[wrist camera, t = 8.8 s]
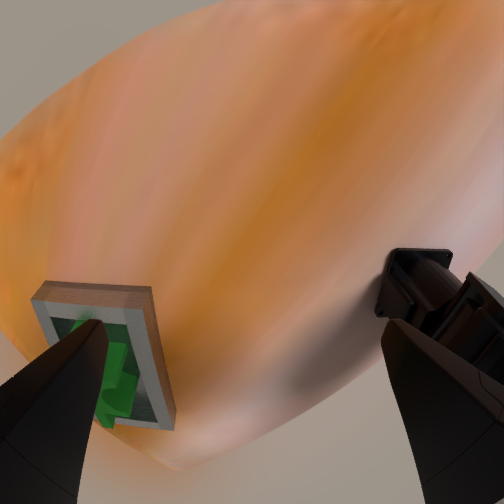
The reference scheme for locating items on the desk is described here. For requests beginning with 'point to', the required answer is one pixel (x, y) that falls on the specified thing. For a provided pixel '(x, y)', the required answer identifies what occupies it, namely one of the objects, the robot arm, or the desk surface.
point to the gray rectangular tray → (116, 339)
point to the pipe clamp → (114, 385)
